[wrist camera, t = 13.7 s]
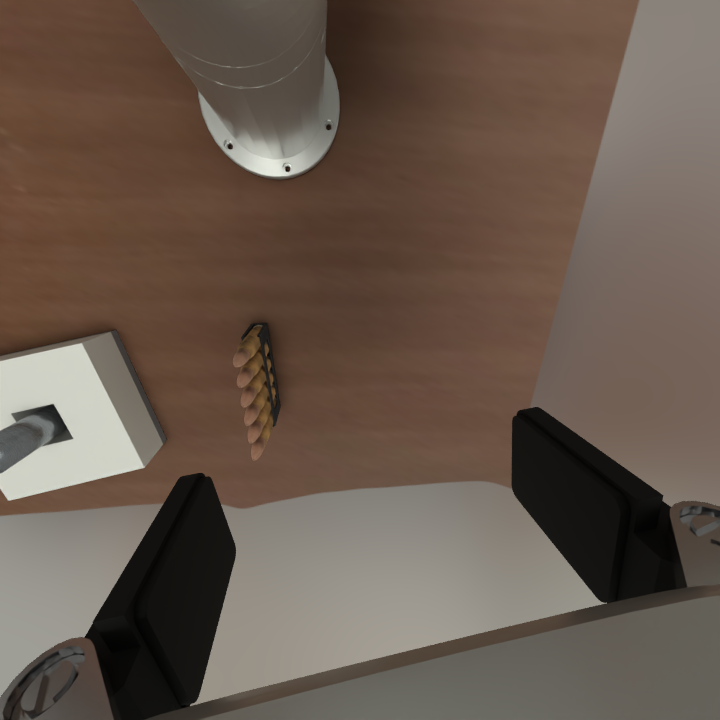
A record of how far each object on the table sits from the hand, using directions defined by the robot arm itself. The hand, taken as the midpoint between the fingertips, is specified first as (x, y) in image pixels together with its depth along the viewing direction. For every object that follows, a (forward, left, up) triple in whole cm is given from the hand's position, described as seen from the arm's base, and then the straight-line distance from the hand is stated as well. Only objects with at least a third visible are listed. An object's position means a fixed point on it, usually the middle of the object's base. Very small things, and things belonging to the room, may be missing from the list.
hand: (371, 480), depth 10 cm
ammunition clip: (+5, -9, -30) cm, 31 cm away
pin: (+4, -30, -28) cm, 41 cm away
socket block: (+4, -30, -29) cm, 42 cm away
